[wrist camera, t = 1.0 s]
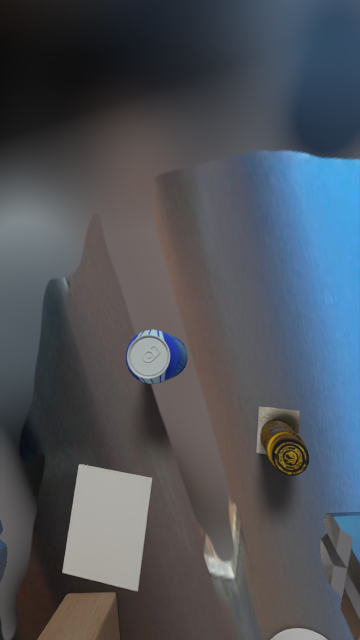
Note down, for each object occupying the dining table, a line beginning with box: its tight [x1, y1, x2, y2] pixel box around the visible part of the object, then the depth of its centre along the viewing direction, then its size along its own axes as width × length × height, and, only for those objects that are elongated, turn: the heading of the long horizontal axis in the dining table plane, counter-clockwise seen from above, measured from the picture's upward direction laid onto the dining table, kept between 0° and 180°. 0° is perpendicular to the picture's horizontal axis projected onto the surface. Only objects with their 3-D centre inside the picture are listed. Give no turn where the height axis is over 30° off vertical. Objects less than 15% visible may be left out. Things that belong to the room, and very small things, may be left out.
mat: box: [62, 464, 152, 592], centre depth 58 cm, size 20×15×1 cm
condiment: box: [257, 406, 309, 476], centre depth 50 cm, size 7×8×12 cm
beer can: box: [126, 330, 187, 384], centre depth 52 cm, size 8×8×16 cm
